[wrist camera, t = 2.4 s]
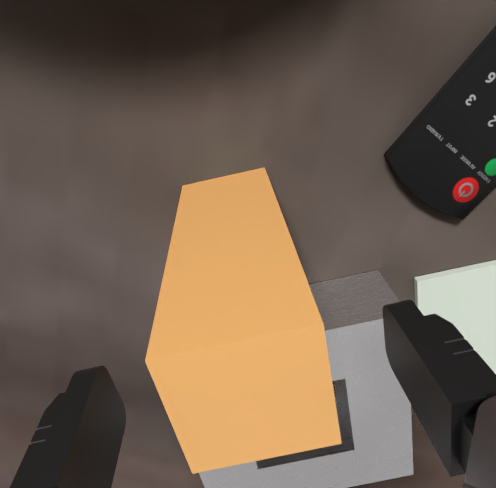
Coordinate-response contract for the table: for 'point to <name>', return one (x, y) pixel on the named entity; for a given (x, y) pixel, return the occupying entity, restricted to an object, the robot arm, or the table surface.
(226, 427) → the key peg
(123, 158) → the table surface
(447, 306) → the mat
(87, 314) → the table surface
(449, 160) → the remote control
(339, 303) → the socket block
